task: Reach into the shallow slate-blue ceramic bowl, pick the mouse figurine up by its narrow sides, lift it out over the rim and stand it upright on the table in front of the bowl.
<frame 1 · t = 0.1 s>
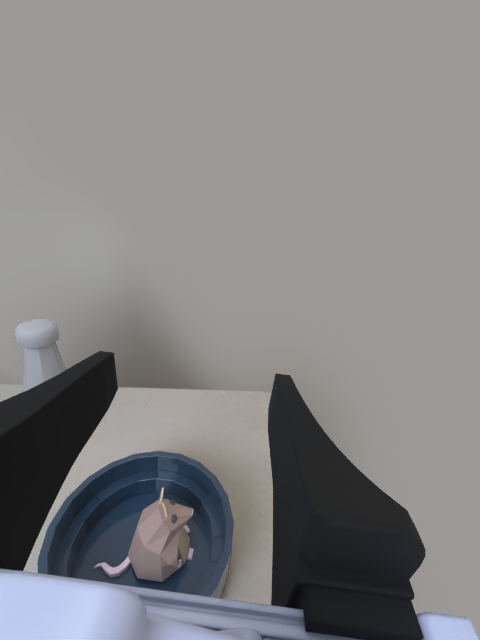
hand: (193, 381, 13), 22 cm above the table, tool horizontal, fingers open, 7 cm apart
salt shaker: (52, 412, 39), on the table
mouse figurine: (145, 555, 25), resting on bowl
bowl: (145, 556, 25), on the table
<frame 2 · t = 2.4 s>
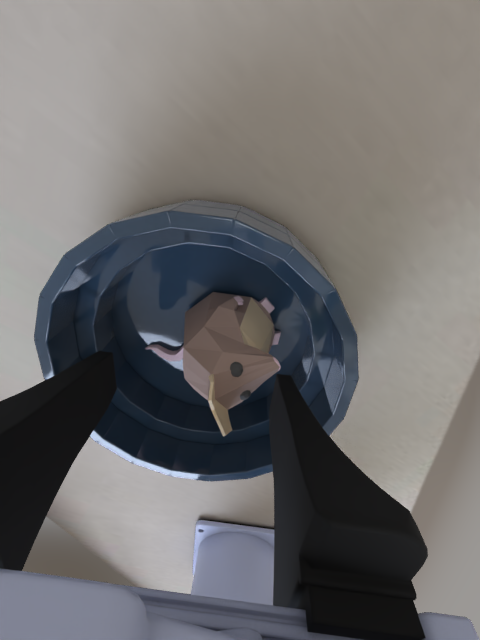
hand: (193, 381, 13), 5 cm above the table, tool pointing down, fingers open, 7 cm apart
mouse figurine: (209, 332, 17), resting on bowl, touching gripper
bowl: (209, 330, 17), on the table
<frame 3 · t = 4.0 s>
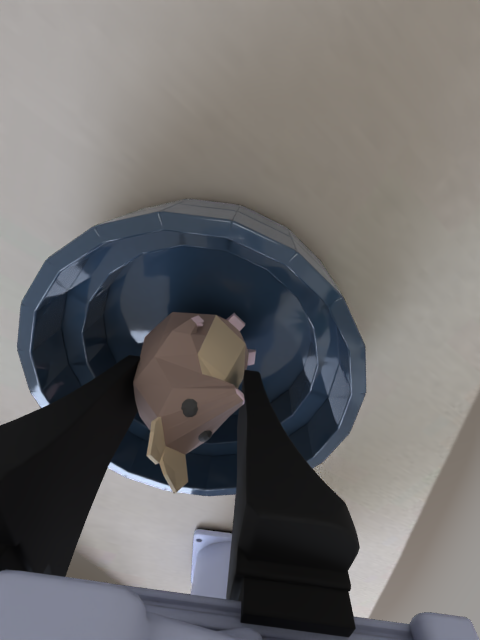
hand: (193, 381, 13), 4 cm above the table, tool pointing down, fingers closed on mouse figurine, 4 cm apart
mouse figurine: (177, 355, 15), point 2 cm above the table, touching gripper
bowl: (207, 337, 16), on the table
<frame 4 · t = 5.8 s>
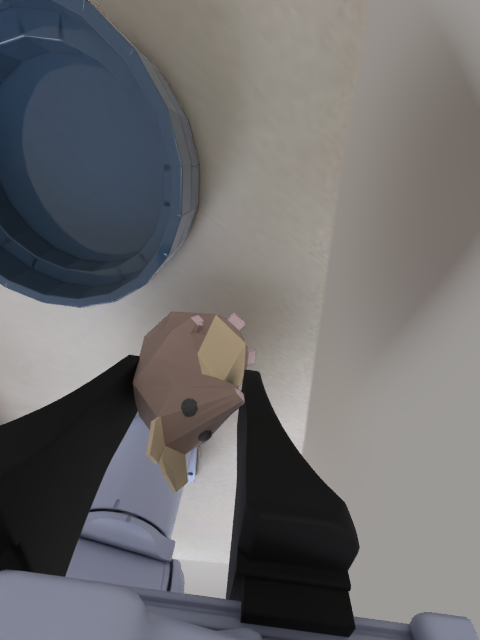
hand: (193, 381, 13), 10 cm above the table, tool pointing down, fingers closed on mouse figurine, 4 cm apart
mouse figurine: (177, 355, 15), point 7 cm above the table, touching gripper
bowl: (86, 172, 18), on the table
when the fingers open (2 cm above the table, at t = 8.1 s): mouse figurine stays where it is, on the table.
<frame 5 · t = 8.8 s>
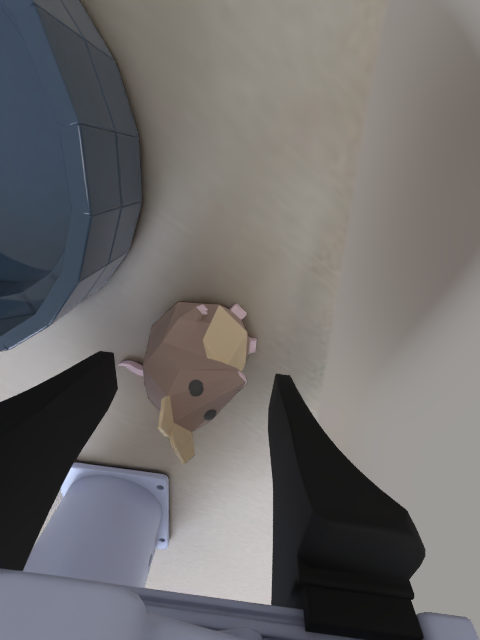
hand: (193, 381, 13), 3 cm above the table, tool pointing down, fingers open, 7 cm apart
mouse figurine: (182, 344, 16), on the table
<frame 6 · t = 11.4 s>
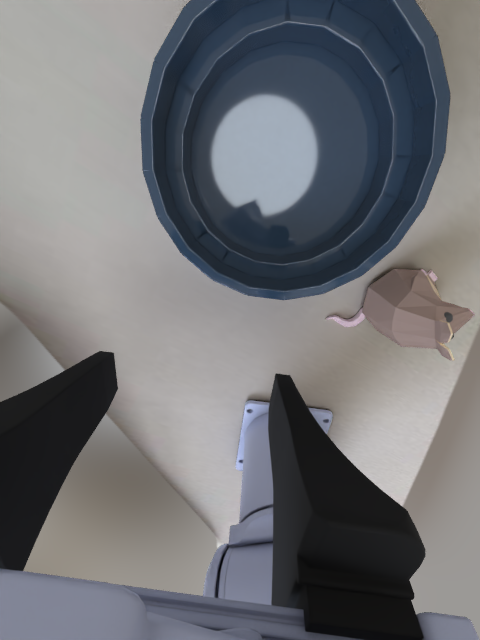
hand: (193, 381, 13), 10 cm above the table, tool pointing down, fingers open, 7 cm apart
mouse figurine: (378, 302, 22), on the table
bowl: (281, 164, 18), on the table
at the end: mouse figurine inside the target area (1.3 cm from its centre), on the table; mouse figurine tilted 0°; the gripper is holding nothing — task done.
